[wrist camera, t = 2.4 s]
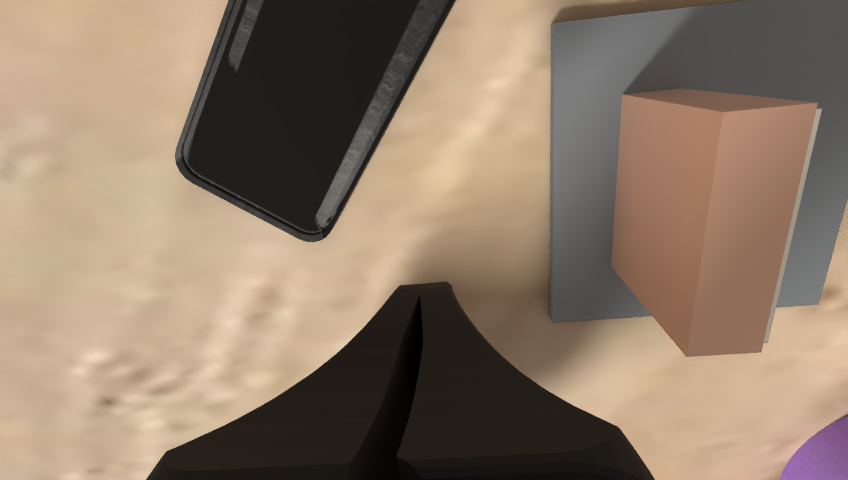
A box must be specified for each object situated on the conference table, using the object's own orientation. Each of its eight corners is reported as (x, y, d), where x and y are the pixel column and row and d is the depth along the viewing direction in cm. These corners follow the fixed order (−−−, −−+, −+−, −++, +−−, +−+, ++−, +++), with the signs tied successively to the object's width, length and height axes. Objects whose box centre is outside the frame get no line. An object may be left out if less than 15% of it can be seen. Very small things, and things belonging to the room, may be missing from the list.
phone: (491, -68, 16) (320, 250, 21) (488, -60, 17) (326, 241, 22) (297, -205, 15) (165, 169, 20) (306, -187, 16) (179, 164, 21)
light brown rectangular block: (668, 261, 21) (770, 351, 14) (611, 266, 21) (686, 356, 15) (688, 87, 18) (830, 101, 11) (622, 94, 18) (723, 112, 12)
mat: (808, 298, 22) (818, 304, 21) (549, 316, 23) (552, 322, 22) (891, -17, 17) (906, -19, 16) (550, 23, 18) (554, 22, 17)
